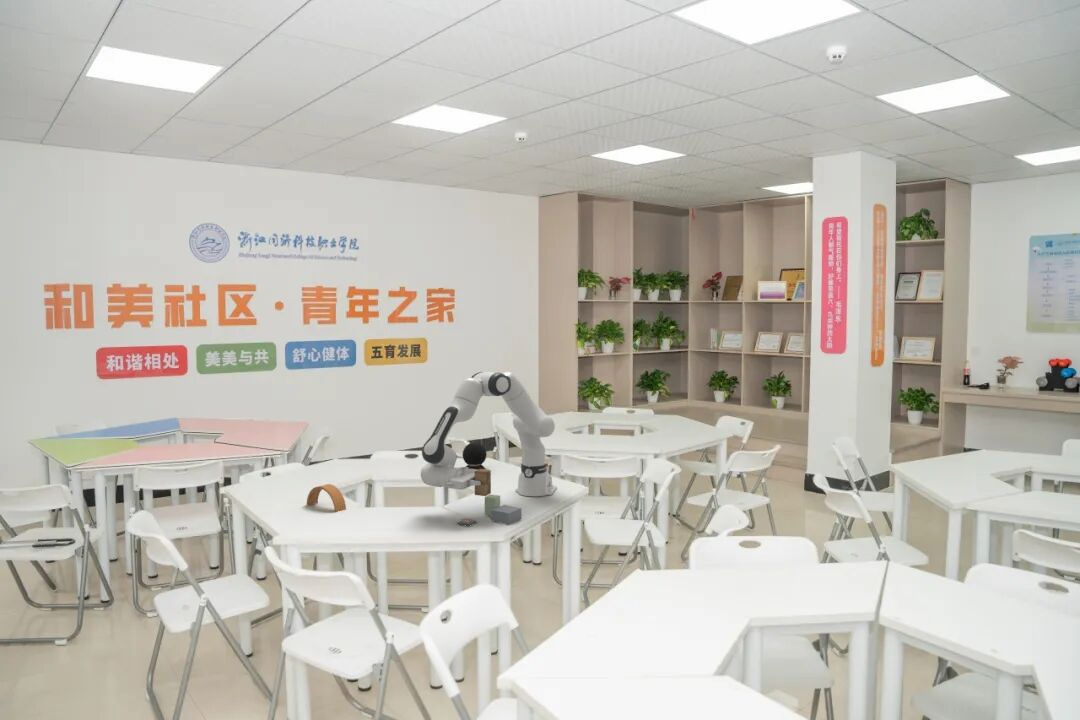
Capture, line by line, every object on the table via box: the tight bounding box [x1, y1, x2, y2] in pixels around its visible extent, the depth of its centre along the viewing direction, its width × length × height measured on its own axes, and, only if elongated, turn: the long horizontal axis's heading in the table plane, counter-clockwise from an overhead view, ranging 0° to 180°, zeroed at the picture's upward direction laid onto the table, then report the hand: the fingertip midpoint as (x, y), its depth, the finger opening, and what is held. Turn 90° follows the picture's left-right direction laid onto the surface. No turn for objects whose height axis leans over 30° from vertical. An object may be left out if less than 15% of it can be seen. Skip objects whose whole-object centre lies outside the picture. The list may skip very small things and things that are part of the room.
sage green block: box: [484, 494, 501, 517], centre depth 316 cm, size 5×5×8 cm
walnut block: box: [474, 468, 492, 497], centre depth 307 cm, size 5×5×10 cm
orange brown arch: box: [306, 483, 347, 513], centre depth 328 cm, size 6×20×10 cm, turn 55°
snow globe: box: [461, 442, 488, 470], centre depth 403 cm, size 13×13×15 cm
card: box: [456, 518, 477, 527], centre depth 303 cm, size 6×6×1 cm
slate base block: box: [490, 504, 522, 525], centre depth 308 cm, size 9×9×5 cm
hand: (484, 481), depth 307 cm, fingers closed on walnut block, 5 cm apart
